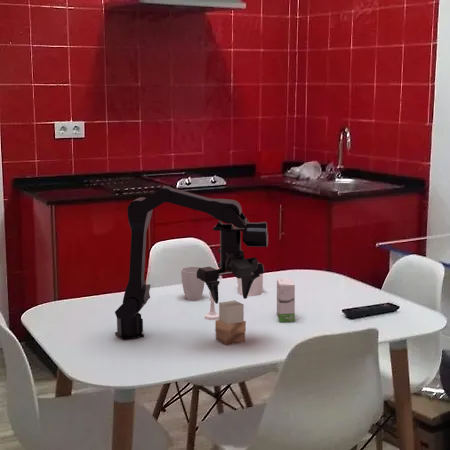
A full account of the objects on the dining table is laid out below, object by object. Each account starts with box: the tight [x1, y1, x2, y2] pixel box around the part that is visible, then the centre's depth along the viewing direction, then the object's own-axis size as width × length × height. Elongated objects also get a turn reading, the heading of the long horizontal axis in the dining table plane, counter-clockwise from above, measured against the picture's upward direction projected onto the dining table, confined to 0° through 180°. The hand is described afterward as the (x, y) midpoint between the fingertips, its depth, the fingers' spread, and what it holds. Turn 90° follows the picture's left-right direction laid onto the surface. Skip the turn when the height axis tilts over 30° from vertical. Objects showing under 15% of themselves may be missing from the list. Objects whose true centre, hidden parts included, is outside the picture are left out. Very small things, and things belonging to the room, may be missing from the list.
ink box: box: [276, 277, 296, 323], centre depth 233 cm, size 9×5×12 cm, turn 2°
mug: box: [236, 273, 264, 297], centre depth 263 cm, size 12×9×10 cm
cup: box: [180, 266, 206, 301], centre depth 255 cm, size 8×8×10 cm
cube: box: [218, 299, 245, 324], centre depth 212 cm, size 5×5×5 cm
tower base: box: [215, 331, 246, 346], centre depth 213 cm, size 6×6×3 cm
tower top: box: [214, 319, 247, 336], centre depth 213 cm, size 6×6×3 cm
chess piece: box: [204, 291, 219, 321], centre depth 234 cm, size 5×5×10 cm
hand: (230, 300), depth 212 cm, fingers open, 9 cm apart
